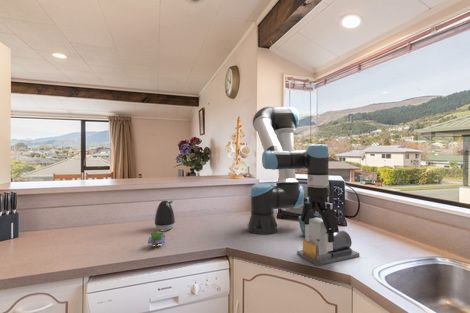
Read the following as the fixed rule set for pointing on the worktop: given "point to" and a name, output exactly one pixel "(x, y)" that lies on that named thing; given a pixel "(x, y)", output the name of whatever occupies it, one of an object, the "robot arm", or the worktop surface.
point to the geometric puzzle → (156, 238)
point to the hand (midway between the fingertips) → (318, 245)
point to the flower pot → (304, 224)
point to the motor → (339, 251)
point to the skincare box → (317, 235)
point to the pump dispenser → (164, 216)
